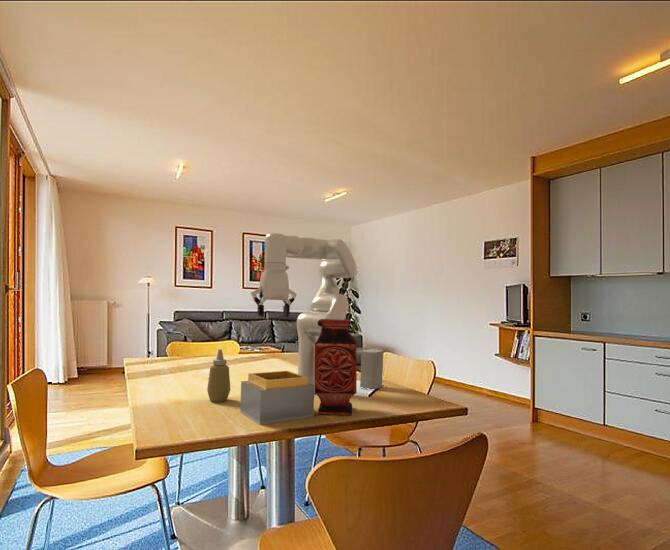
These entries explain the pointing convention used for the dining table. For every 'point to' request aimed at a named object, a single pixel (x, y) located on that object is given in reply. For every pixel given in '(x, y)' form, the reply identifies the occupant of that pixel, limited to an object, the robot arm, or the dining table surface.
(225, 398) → the squeeze bottle
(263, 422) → the box
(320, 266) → the robot arm
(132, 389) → the dining table surface
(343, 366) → the vase
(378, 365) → the skincare box
